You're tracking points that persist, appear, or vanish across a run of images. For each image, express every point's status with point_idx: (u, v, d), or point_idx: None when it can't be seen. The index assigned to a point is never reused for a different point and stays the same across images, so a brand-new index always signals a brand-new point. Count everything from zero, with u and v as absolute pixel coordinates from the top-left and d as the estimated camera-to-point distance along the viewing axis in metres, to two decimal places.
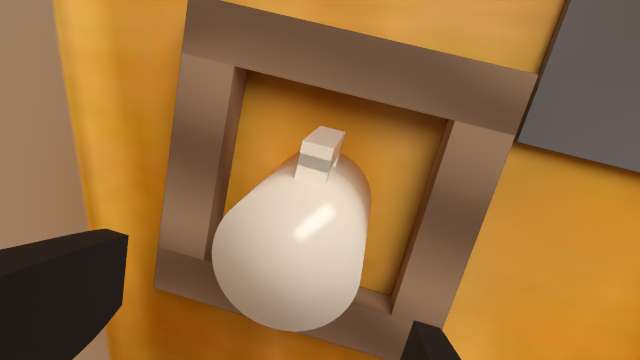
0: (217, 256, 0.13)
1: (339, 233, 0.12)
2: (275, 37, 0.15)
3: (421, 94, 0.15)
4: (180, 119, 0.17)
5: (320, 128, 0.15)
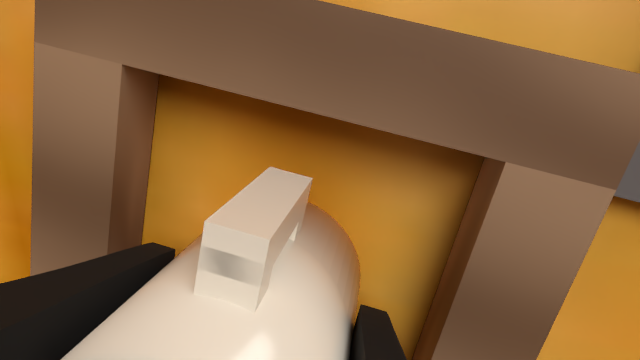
0: None
1: None
2: (187, 13, 0.09)
3: (445, 115, 0.08)
4: (43, 152, 0.10)
5: (266, 174, 0.09)
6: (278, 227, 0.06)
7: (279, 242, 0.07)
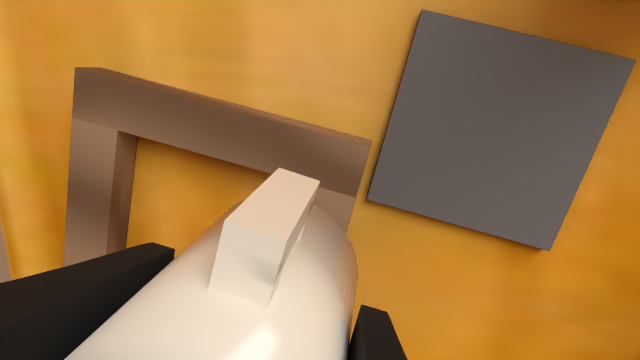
0: None
1: None
2: (150, 107, 0.17)
3: (275, 160, 0.17)
4: (74, 174, 0.19)
5: (276, 175, 0.09)
6: (293, 229, 0.07)
7: (291, 243, 0.07)
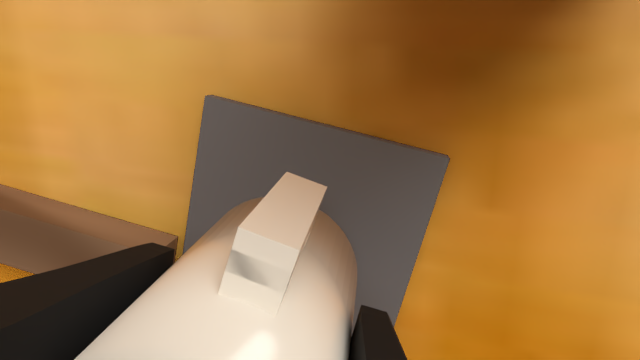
0: None
1: None
2: None
3: (56, 265, 0.15)
4: None
5: (284, 180, 0.09)
6: (305, 237, 0.07)
7: (301, 250, 0.07)
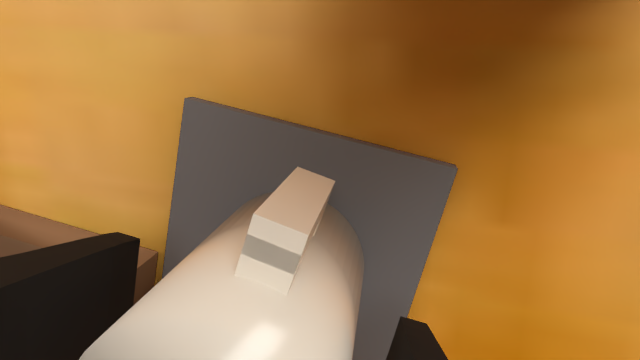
0: None
1: None
2: None
3: None
4: None
5: (295, 174, 0.10)
6: (313, 224, 0.07)
7: (310, 237, 0.08)
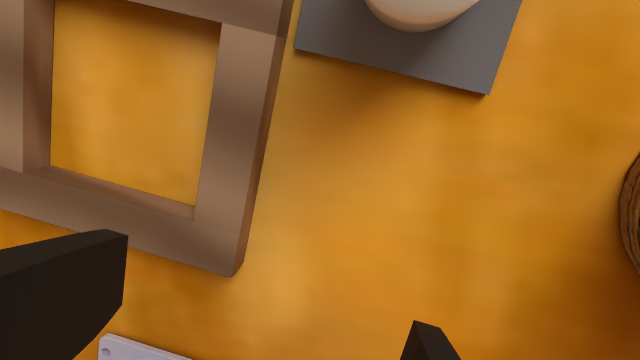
0: None
1: None
2: None
3: None
4: None
5: None
6: None
7: None
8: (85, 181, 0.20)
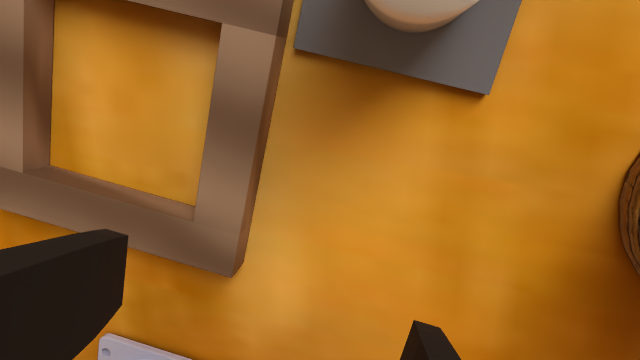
0: None
1: None
2: None
3: None
4: None
5: None
6: None
7: None
8: (85, 181, 0.20)
